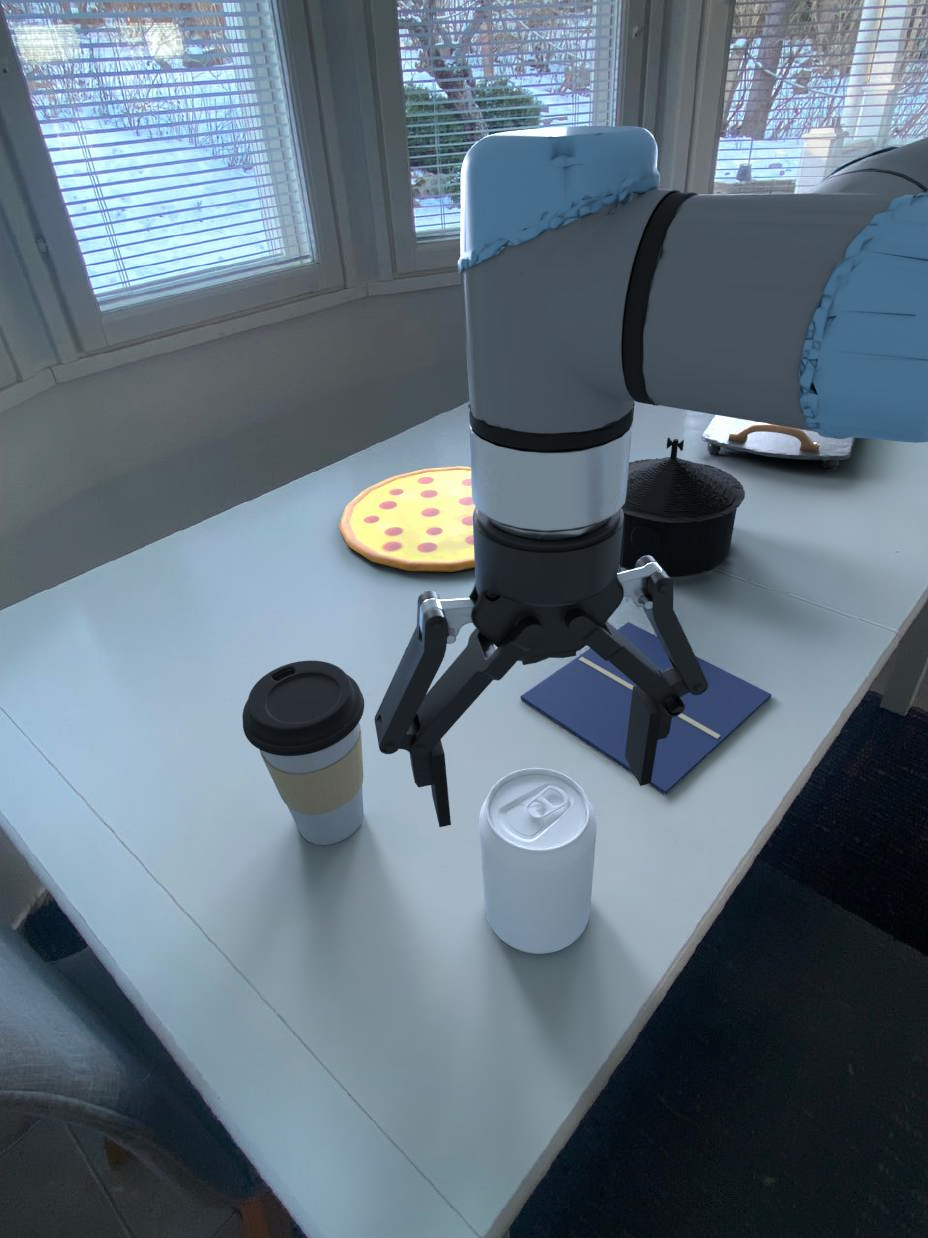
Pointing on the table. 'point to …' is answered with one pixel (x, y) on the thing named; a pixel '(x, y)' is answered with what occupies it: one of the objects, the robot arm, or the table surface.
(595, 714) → the napkin
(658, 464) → the black round tub
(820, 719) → the table surface
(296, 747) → the coffee cup
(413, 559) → the pizza
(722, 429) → the serving tray
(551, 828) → the beverage can
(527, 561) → the robot arm
